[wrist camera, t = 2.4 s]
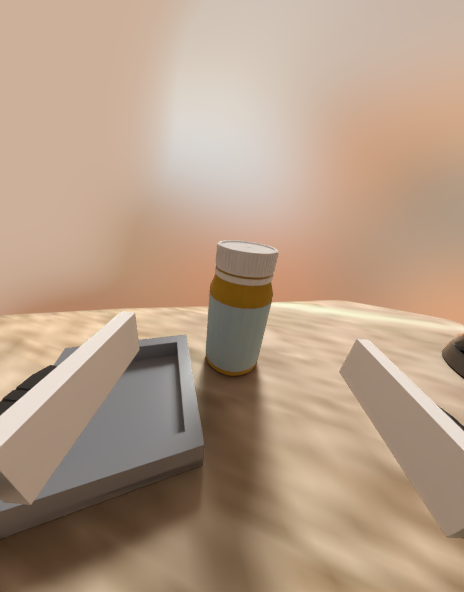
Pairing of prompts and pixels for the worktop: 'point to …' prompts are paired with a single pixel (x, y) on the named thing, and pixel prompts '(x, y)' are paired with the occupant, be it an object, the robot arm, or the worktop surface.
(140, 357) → the tray
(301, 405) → the worktop surface
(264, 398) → the worktop surface
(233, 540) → the worktop surface
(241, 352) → the bottle
